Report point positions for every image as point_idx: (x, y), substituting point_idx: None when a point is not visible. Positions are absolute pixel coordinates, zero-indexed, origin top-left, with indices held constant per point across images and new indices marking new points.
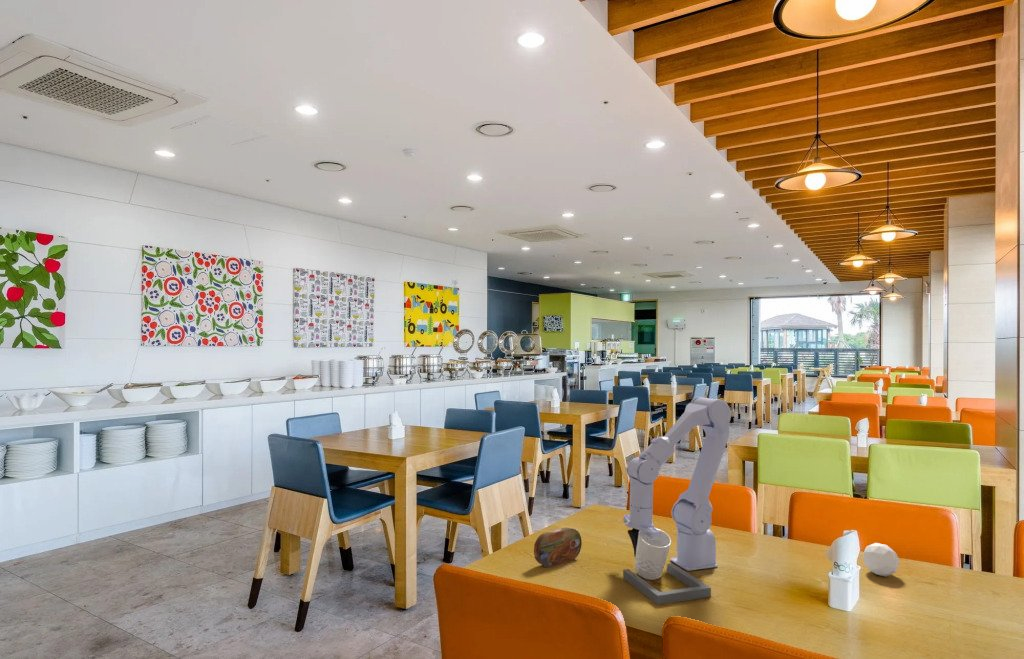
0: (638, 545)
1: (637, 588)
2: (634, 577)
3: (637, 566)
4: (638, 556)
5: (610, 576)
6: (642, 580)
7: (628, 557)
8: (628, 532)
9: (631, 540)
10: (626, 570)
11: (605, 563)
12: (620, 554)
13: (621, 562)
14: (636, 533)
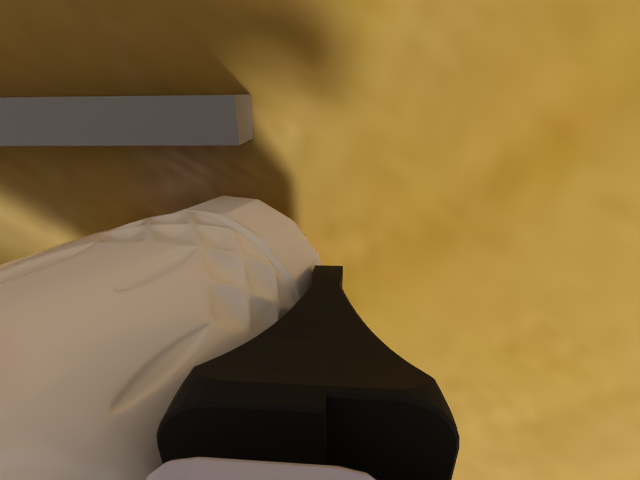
0: (22, 284)
1: (66, 96)
2: (78, 104)
3: (206, 208)
4: (132, 234)
5: (297, 7)
6: (21, 133)
7: (538, 296)
8: (394, 384)
9: (368, 334)
10: (213, 112)
11: (532, 96)
12: (609, 277)
13: (490, 217)
14: (197, 443)
